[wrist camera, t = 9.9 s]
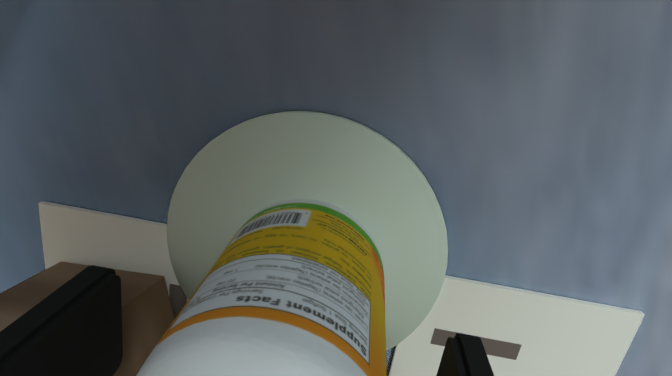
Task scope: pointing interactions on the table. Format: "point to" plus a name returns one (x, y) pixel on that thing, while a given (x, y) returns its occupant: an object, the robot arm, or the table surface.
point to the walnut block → (137, 308)
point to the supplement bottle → (284, 301)
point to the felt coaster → (315, 184)
